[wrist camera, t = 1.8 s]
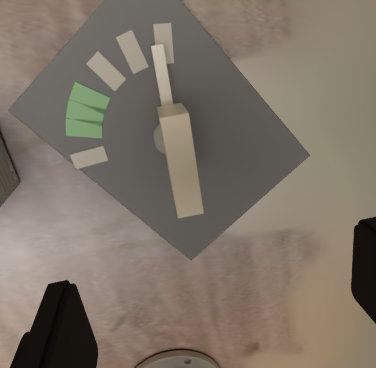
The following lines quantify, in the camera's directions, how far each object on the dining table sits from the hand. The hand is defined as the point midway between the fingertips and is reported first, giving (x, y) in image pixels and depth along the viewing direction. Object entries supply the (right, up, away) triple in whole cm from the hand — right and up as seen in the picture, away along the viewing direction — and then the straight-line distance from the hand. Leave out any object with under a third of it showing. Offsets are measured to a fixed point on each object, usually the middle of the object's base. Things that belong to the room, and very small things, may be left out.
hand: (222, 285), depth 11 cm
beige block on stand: (-3, +9, +18) cm, 21 cm away
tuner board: (-3, +8, +20) cm, 22 cm away
